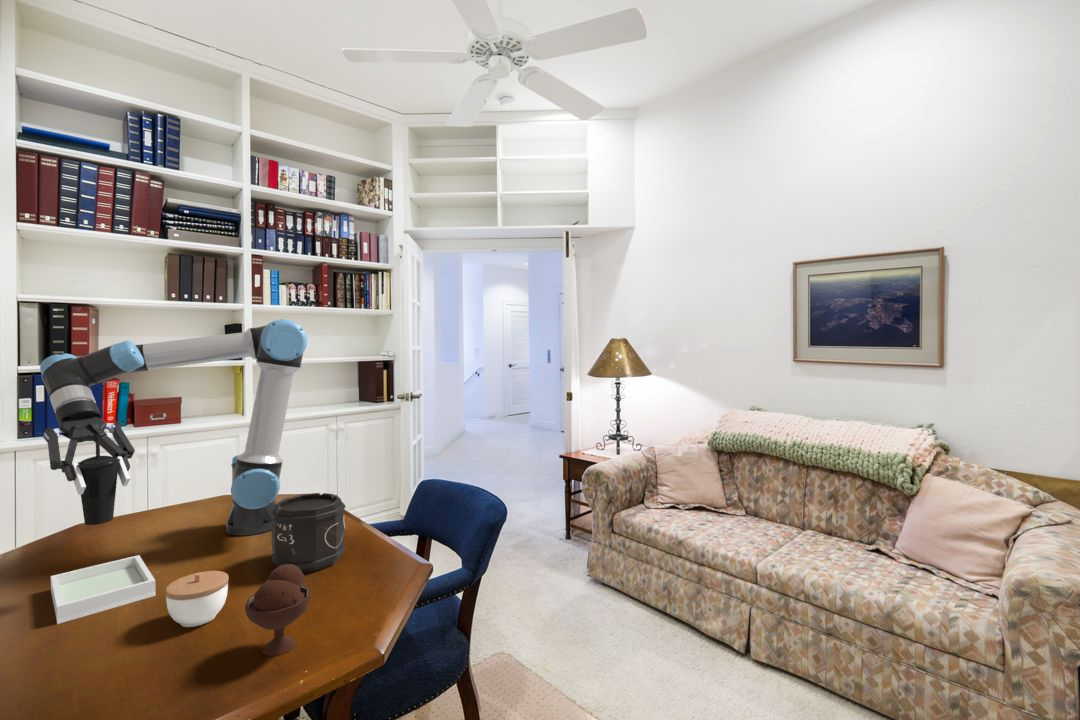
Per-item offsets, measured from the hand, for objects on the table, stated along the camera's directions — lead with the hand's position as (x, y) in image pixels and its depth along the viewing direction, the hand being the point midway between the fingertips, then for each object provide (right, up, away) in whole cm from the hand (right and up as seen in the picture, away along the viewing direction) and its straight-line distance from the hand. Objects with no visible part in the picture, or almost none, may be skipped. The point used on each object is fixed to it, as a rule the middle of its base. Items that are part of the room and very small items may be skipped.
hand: (105, 486), depth 111 cm
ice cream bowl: (+48, -26, -18) cm, 57 cm away
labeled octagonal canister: (+36, -25, +21) cm, 48 cm away
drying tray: (-3, -25, +3) cm, 25 cm away
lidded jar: (+26, -26, -8) cm, 38 cm away
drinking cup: (-3, -9, +2) cm, 9 cm away
